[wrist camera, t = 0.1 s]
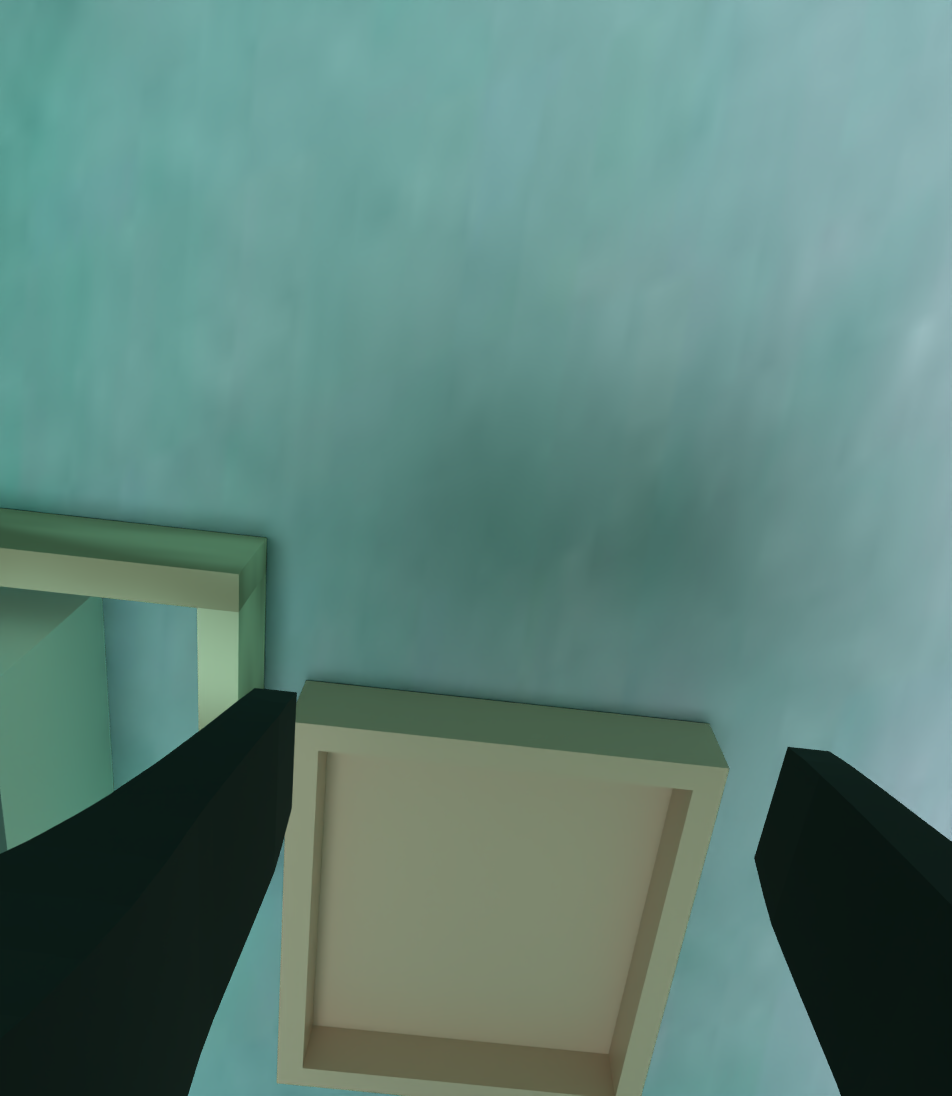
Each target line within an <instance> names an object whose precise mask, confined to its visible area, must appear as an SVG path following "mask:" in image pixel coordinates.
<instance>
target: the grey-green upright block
mask: <svg viewBox="0 0 952 1096" xmlns="http://www.w3.org/2000/svg"><path fill="white" fill-rule="evenodd" d="M112 792H114V784H113V768H112V751H111V735H110V718H109V701H108V685H107V668H106V651H105V635H104V618H103V602H102V597H93V596H84V595H75V594H66V593H57V592H48V591H39V590H29V589H20V588H11V587H2V586H0V854H1V853H3V852H5V851H7V850H9V849H11V848H14V847H16V846H18V845H20V844H22V843H24V842H26V841H28V840H30V839H32V838H34V837H36V836H38V835H40V834H41V833H43V832H45V831H47V830H49V829H50V828H52V827H54V826H56V825H58V824H60V823H61V822H63V821H65V820H67V819H69V818H71V817H72V816H74V815H76V814H78V813H79V812H81V811H83V810H85V809H86V808H88V807H90V806H91V805H93V804H95V803H96V802H98V801H100V800H101V799H103V798H104V797H106V796H108V795H109V794H111V793H112Z"/></svg>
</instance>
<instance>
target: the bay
mask: <svg viewBox="0 0 952 1096" xmlns="http://www.w3.org/2000/svg"><path fill="white" fill-rule="evenodd" d="M266 557H267V538H263V537H254V536H245V535H236V534H227V533H218V532H209V531H200V530H191V529H182V528H173V527H165V526H156V525H147V524H138V523H129V522H120V521H111V520H102V519H93V518H84V517H75V516H66V515H57V514H48V513H39V512H30V511H21V510H12V509H3V508H0V586H2V587H11V588H20V589H29V590H39V591H48V592H57V593H66V594H75V595H84V596H93V597H103V598H112V599H121V600H130V601H139V602H148V603H157V604H167V605H176V606H185V607H194V608H197V641H198V713H199V731H200V730H201V729H202V728H204V727H205V726H206V725H207V724H209V723H210V722H211V721H213V720H214V719H215V718H216V717H218V716H219V715H220V714H221V713H223V712H224V711H225V710H226V709H228V708H229V707H230V706H232V705H233V704H234V703H235V702H237V701H238V700H239V699H241V698H242V697H243V696H245V695H246V694H247V693H249V692H250V691H251V690H253V689H254V688H260V689H264V658H265V607H266Z"/></svg>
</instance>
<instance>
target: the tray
mask: <svg viewBox="0 0 952 1096" xmlns="http://www.w3.org/2000/svg"><path fill="white" fill-rule="evenodd" d="M728 772H729V766H728V764H727V762H726V760H725V758H724V755H723V753H722V751H721V749H720V747H719V744H718V742H717V740H716V738H715V735H714V733H713V731H712V729H711V727H710V724H707V723H697V722H688V721H679V720H669V719H660V718H651V717H642V716H632V715H623V714H614V713H604V712H595V711H586V710H577V709H567V708H558V707H549V706H539V705H530V704H521V703H511V702H502V701H493V700H484V699H474V698H465V697H456V696H446V695H437V694H428V693H419V692H409V691H400V690H391V689H381V688H372V687H363V686H354V685H344V684H335V683H326V682H316V681H307V680H306V682H305V685H304V687H303V689H302V692H301V694H300V696H299V699H298V701H297V703H296V721H295V746H294V770H293V794H292V810H291V814H290V817H289V821H288V825H287V828H286V832H285V849H284V879H283V909H282V939H281V969H280V999H279V1030H278V1060H277V1083H279V1084H290V1085H300V1086H310V1087H321V1088H331V1089H341V1090H352V1091H362V1092H372V1093H383V1094H393V1095H403V1096H641V1095H642V1091H643V1087H644V1084H645V1080H646V1076H647V1073H648V1069H649V1065H650V1061H651V1058H652V1054H653V1050H654V1047H655V1043H656V1039H657V1035H658V1032H659V1028H660V1024H661V1021H662V1017H663V1013H664V1009H665V1006H666V1002H667V998H668V995H669V991H670V987H671V984H672V980H673V976H674V972H675V969H676V965H677V961H678V958H679V954H680V950H681V946H682V943H683V939H684V935H685V932H686V928H687V924H688V921H689V917H690V913H691V909H692V906H693V902H694V898H695V895H696V891H697V887H698V883H699V880H700V876H701V872H702V869H703V865H704V861H705V857H706V854H707V850H708V846H709V843H710V839H711V835H712V832H713V828H714V824H715V820H716V817H717V813H718V809H719V806H720V802H721V798H722V794H723V791H724V787H725V783H726V780H727V776H728Z"/></svg>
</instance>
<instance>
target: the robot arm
mask: <svg viewBox="0 0 952 1096" xmlns="http://www.w3.org/2000/svg"><path fill="white" fill-rule="evenodd" d="M296 697H297V693H296V692H287V691H278V690H269V689H260V688H254V689H253V690H251V691H250V692H249V693H247V694H246V695H245V696H243V697H242V698H241V699H239V700H238V701H237V702H235V703H234V704H233V705H232V706H230V707H229V708H228V709H226V710H225V711H224V712H223V713H221V714H220V715H219V716H218V717H216V718H215V719H214V720H213V721H211V722H210V723H209V724H207V725H206V726H205V727H204V728H202V729H201V730H200V731H198V732H197V733H196V734H195V735H193V736H192V737H191V738H189V739H188V740H187V741H185V742H184V743H183V744H181V745H180V746H179V747H177V748H176V749H175V750H173V751H172V752H170V753H169V754H168V755H166V756H165V757H164V758H162V759H161V760H160V761H158V762H157V763H156V764H154V765H153V766H151V767H150V768H148V769H147V770H145V771H144V772H142V773H141V774H139V775H138V776H136V777H135V778H133V779H132V780H130V781H129V782H127V783H126V784H124V785H123V786H121V787H120V788H118V789H117V790H115V791H114V792H112V793H111V794H109V795H108V796H106V797H104V798H103V799H101V800H100V801H98V802H96V803H95V804H93V805H91V806H90V807H88V808H86V809H85V810H83V811H81V812H79V813H78V814H76V815H74V816H72V817H71V818H69V819H67V820H65V821H63V822H61V823H60V824H58V825H56V826H54V827H52V828H50V829H49V830H47V831H45V832H43V833H41V834H40V835H38V836H36V837H34V838H32V839H30V840H28V841H26V842H24V843H22V844H20V845H18V846H16V847H14V848H11V849H9V850H7V851H5V852H3V853H1V854H0V1096H188V1093H189V1090H190V1087H191V1083H192V1080H193V1077H194V1074H195V1070H196V1067H197V1064H198V1061H199V1058H200V1055H201V1052H202V1049H203V1046H204V1044H205V1041H206V1038H207V1036H208V1033H209V1030H210V1027H211V1025H212V1022H213V1019H214V1017H215V1015H216V1012H217V1010H218V1007H219V1005H220V1003H221V1000H222V998H223V995H224V993H225V990H226V988H227V986H228V983H229V981H230V978H231V976H232V974H233V971H234V969H235V966H236V964H237V962H238V959H239V957H240V954H241V952H242V950H243V947H244V945H245V942H246V940H247V938H248V935H249V933H250V930H251V928H252V926H253V923H254V921H255V918H256V916H257V913H258V911H259V908H260V906H261V904H262V901H263V899H264V896H265V894H266V891H267V889H268V886H269V884H270V881H271V879H272V876H273V874H274V871H275V868H276V864H277V861H278V857H279V854H280V850H281V847H282V843H283V840H284V836H285V832H286V828H287V825H288V821H289V817H290V814H291V810H292V794H293V770H294V746H295V721H296ZM754 859H755V863H756V867H757V871H758V875H759V879H760V883H761V887H762V892H763V896H764V899H765V903H766V906H767V910H768V913H769V917H770V921H771V924H772V927H773V929H774V932H775V935H776V937H777V940H778V942H779V945H780V947H781V950H782V952H783V955H784V957H785V960H786V962H787V965H788V967H789V970H790V972H791V974H792V977H793V979H794V982H795V984H796V987H797V989H798V991H799V994H800V996H801V999H802V1001H803V1004H804V1006H805V1008H806V1011H807V1013H808V1016H809V1018H810V1020H811V1023H812V1025H813V1028H814V1030H815V1033H816V1035H817V1037H818V1040H819V1042H820V1045H821V1047H822V1049H823V1052H824V1054H825V1057H826V1059H827V1061H828V1064H829V1066H830V1069H831V1071H832V1074H833V1076H834V1078H835V1081H836V1083H837V1086H838V1089H839V1091H840V1094H841V1096H952V841H950V840H949V839H947V838H946V837H945V836H943V835H942V834H941V833H939V832H938V831H937V830H936V829H934V828H933V827H932V826H930V825H929V824H928V823H926V822H925V821H924V820H922V819H921V818H920V817H918V816H917V815H916V814H914V813H913V812H912V811H910V810H909V809H908V808H907V807H905V806H904V805H903V804H901V803H900V802H899V801H897V800H896V799H895V798H893V797H892V796H891V795H890V794H888V793H887V792H886V791H884V790H883V789H882V788H880V787H879V786H878V785H876V784H875V783H874V782H872V781H871V780H870V779H868V778H867V777H866V776H864V775H863V774H862V773H860V772H859V771H857V770H856V769H855V768H853V767H852V766H851V765H849V764H848V763H846V762H845V761H843V760H842V759H840V758H839V757H837V756H836V755H834V754H832V753H831V752H829V751H821V750H812V749H803V748H794V747H788V748H787V751H786V755H785V758H784V761H783V765H782V768H781V771H780V775H779V778H778V781H777V785H776V788H775V791H774V794H773V798H772V801H771V804H770V808H769V811H768V814H767V818H766V821H765V824H764V828H763V831H762V834H761V838H760V841H759V844H758V848H757V851H756V854H755V858H754Z"/></svg>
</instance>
